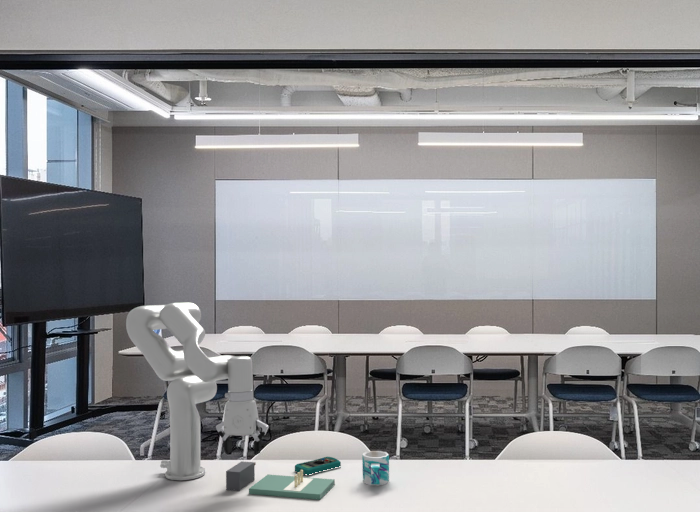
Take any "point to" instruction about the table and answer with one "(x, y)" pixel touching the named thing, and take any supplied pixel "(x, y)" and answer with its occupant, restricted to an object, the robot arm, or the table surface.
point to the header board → (292, 486)
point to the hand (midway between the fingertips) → (242, 453)
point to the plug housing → (240, 476)
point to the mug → (375, 467)
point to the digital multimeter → (317, 465)
